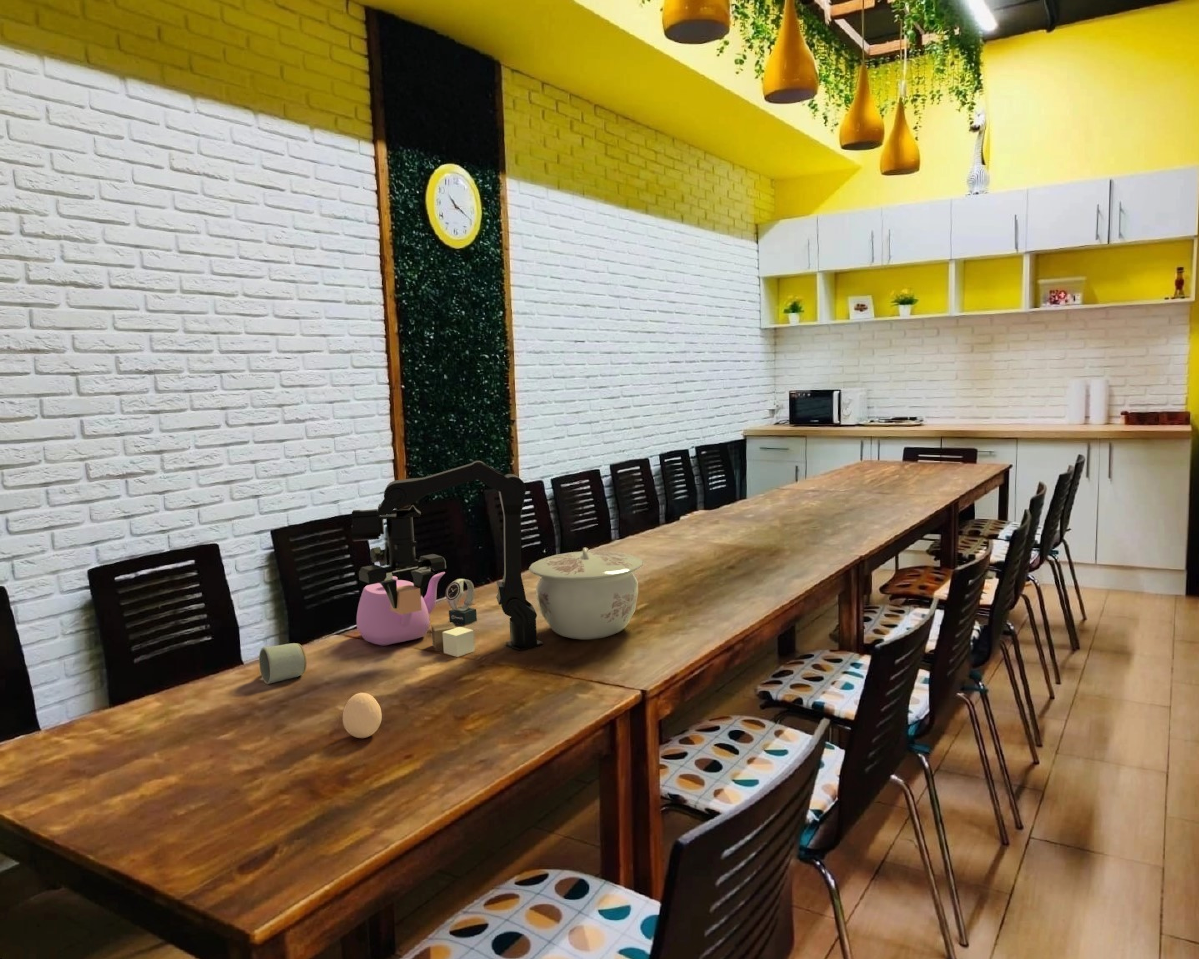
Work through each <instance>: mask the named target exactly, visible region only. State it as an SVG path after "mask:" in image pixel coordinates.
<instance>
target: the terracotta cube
mask: <svg viewBox="0 0 1199 959" xmlns="http://www.w3.org/2000/svg"><path fill="white" fill-rule="evenodd" d="M390 603H391V602H390ZM420 610H422V608H421V595H420V588H417V587H415V586H412V585H406V586H401V587H397V608H396V609H395V608H393V606H392V604H391V611H393V612H395V613H398V614H400V615H403V614H407V613H411V612H416V611H420Z"/></svg>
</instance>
